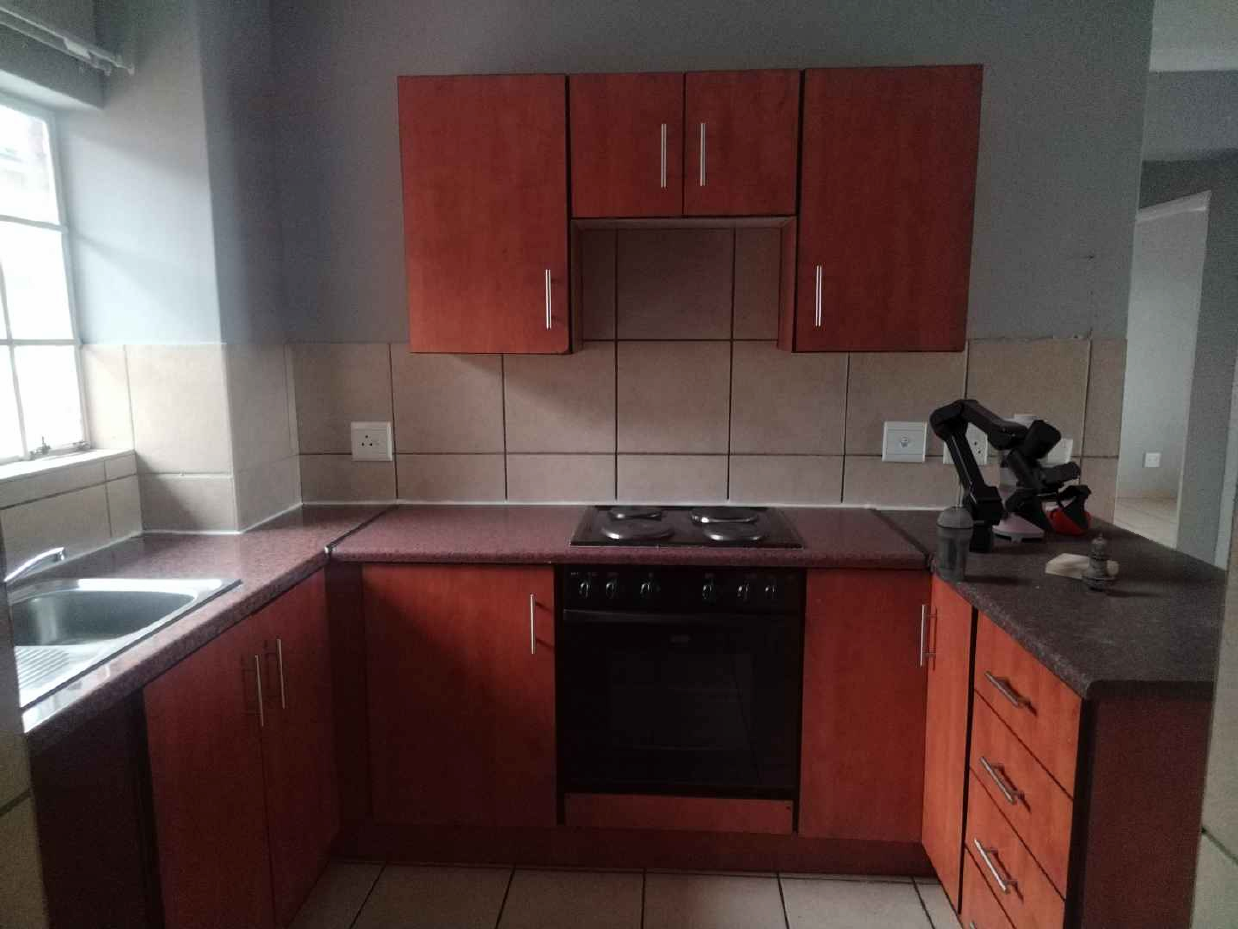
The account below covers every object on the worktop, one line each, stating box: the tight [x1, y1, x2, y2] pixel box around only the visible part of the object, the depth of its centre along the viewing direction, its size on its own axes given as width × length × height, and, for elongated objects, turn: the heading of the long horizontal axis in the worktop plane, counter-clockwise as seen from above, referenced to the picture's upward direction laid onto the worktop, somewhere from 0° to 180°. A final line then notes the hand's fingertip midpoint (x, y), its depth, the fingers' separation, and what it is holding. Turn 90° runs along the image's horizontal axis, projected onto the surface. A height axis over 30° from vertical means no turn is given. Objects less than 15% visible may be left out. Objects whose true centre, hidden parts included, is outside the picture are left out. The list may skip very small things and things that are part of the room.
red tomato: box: [1047, 503, 1092, 536], centre depth 199 cm, size 10×10×9 cm
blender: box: [993, 413, 1051, 543], centre depth 191 cm, size 16×12×32 cm
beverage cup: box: [936, 484, 974, 582], centre depth 158 cm, size 7×7×20 cm
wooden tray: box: [1044, 552, 1119, 580], centre depth 162 cm, size 11×11×2 cm
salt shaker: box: [1080, 533, 1116, 597], centre depth 148 cm, size 6×6×12 cm
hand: (1070, 531), depth 154 cm, fingers open, 9 cm apart
